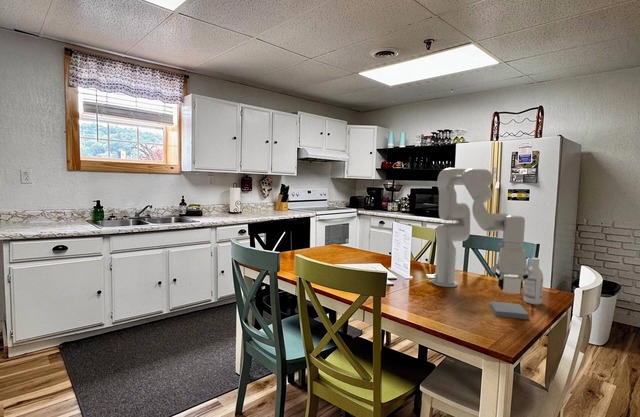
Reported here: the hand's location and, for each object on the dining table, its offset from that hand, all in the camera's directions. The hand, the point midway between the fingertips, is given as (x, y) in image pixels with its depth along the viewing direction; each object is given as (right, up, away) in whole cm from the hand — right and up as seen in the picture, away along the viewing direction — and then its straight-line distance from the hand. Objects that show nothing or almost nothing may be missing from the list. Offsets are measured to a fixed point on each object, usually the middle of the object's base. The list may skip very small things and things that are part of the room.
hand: (510, 289), depth 146 cm
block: (0, -1, 0) cm, 1 cm away
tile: (0, -10, +1) cm, 10 cm away
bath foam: (+17, -9, +14) cm, 24 cm away
